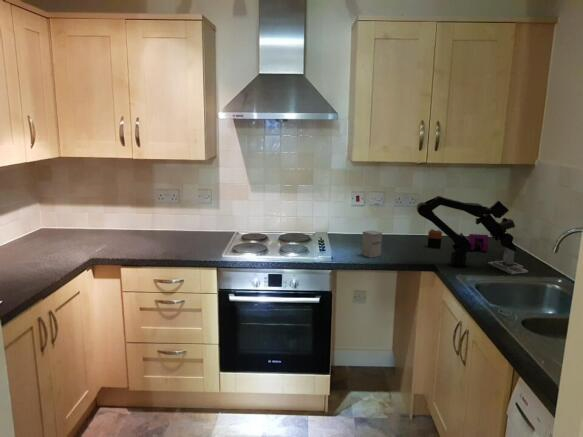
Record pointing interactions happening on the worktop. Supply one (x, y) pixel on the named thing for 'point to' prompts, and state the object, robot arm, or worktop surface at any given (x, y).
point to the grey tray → (510, 269)
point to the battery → (434, 239)
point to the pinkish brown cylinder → (371, 243)
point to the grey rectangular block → (508, 257)
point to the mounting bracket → (478, 241)
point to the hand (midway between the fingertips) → (512, 248)
